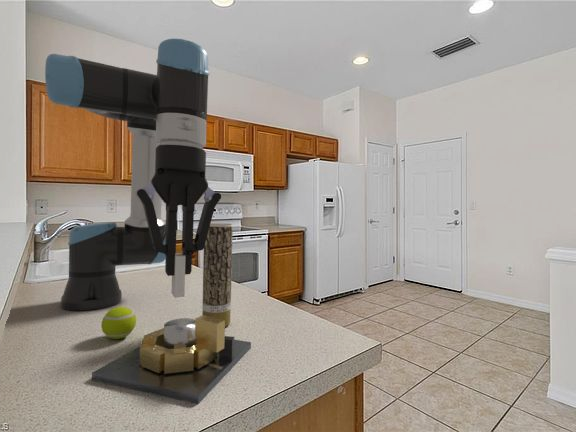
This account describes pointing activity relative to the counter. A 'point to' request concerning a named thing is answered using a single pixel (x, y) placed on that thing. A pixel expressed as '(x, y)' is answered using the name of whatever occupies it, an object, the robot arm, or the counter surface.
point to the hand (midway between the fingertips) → (177, 294)
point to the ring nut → (182, 358)
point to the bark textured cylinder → (218, 272)
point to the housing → (176, 384)
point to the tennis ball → (118, 322)
